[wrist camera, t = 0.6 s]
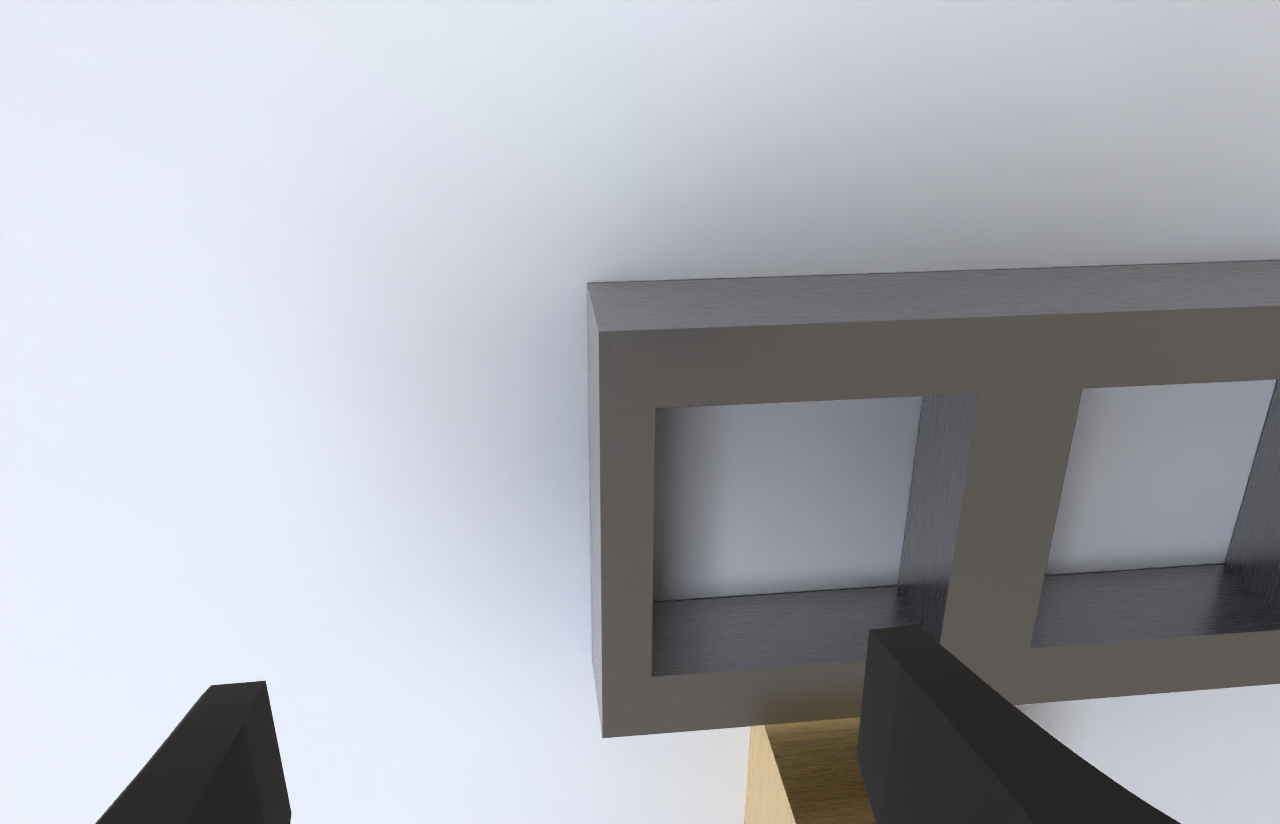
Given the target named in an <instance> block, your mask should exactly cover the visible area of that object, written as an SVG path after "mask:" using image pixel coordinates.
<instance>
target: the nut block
mask: <svg viewBox="0 0 1280 824" xmlns="http://www.w3.org/2000/svg"><path fill="white" fill-rule="evenodd" d="M859 726H860V717H858V718H846V719H833V720H821V721H809V722H796V723H784V724H771V725H759V726H751V733H750V748H749V764H748V779H747V794H746V809H745V824H876V821H875V818H874V815H873V812H872V809H871V806H870V803H869V800H868V796H867V793H866V789H865V786H864V783H863V779H862V776H861V772H860V769H859V765H858V762H857V759H856V756H857V746H858V736H859Z"/></svg>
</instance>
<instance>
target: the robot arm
mask: <svg viewBox="0 0 1280 824" xmlns="http://www.w3.org/2000/svg"><path fill="white" fill-rule="evenodd" d="M856 759H857V762H858V765H859V769H860V772H861V776H862V779H863V783H864V786H865V789H866V793H867V796H868V800H869V803H870V806H871V809H872V812H873V815H874V818H875V821H876V824H1180V823H1179V822H1177V821H1176V820H1174V819H1172V818H1171V817H1169V816H1167V815H1166V814H1164V813H1163V812H1161V811H1159V810H1158V809H1156V808H1154V807H1153V806H1151V805H1150V804H1148V803H1146V802H1145V801H1143V800H1142V799H1140V798H1139V797H1137V796H1136V795H1134V794H1133V793H1131V792H1130V791H1128V790H1127V789H1125V788H1124V787H1122V786H1121V785H1119V784H1118V783H1116V782H1115V781H1113V780H1112V779H1111V778H1109V777H1108V776H1106V775H1105V774H1104V773H1102V772H1101V771H1099V770H1098V769H1097V768H1095V767H1094V766H1092V765H1091V764H1089V763H1088V762H1087V761H1085V760H1084V759H1082V758H1081V757H1080V756H1078V755H1077V754H1075V753H1074V752H1073V751H1071V750H1070V749H1069V748H1067V747H1066V746H1065V745H1063V744H1062V743H1061V742H1059V741H1058V740H1057V739H1055V738H1054V737H1053V736H1051V735H1050V734H1049V733H1048V732H1046V731H1045V730H1044V729H1042V728H1041V727H1040V726H1039V725H1037V724H1036V723H1035V722H1033V721H1032V720H1031V719H1030V718H1028V717H1027V716H1026V715H1025V714H1023V713H1022V712H1021V711H1020V710H1018V709H1017V708H1016V707H1015V706H1013V705H1012V704H1011V703H1010V702H1009V701H1007V700H1006V699H1005V698H1004V697H1002V696H1001V695H1000V694H999V693H998V692H996V691H995V690H994V689H993V688H992V687H990V686H989V685H988V684H987V683H986V682H984V681H983V680H982V679H981V678H980V677H978V676H977V675H976V674H975V673H974V672H972V671H971V670H970V669H969V668H968V667H966V666H965V665H964V664H963V663H962V662H961V661H959V660H958V659H957V658H956V657H955V656H954V655H952V654H951V653H950V652H949V651H948V650H946V649H945V648H944V647H943V646H942V645H941V644H939V643H938V642H937V641H936V640H935V639H933V638H932V637H931V636H930V635H929V634H927V633H926V632H925V631H924V630H922V629H921V628H920V627H919V626H906V627H894V628H882V629H871V630H869V637H868V647H867V657H866V667H865V677H864V687H863V696H862V706H861V716H860V726H859V736H858V746H857V756H856ZM290 820H291V809H290V804H289V799H288V793H287V788H286V783H285V778H284V773H283V768H282V763H281V758H280V752H279V747H278V742H277V737H276V732H275V727H274V722H273V717H272V712H271V706H270V701H269V696H268V691H267V686H266V681H258V682H246V683H234V684H222V685H211V686H210V687H209V688H208V689H207V690H206V692H205V693H204V694H203V695H202V696H201V697H200V698H199V700H198V701H197V702H196V703H195V704H194V706H193V707H192V708H191V709H190V711H189V712H188V713H187V714H186V716H185V717H184V718H183V719H182V721H181V722H180V723H179V724H178V726H177V727H176V728H175V729H174V731H173V732H172V733H171V734H170V736H169V737H168V738H167V739H166V740H165V742H164V743H163V744H162V745H161V747H160V748H159V749H158V750H157V752H156V753H155V754H154V755H153V756H152V758H151V759H150V760H149V761H148V762H147V764H146V765H145V766H144V767H143V769H142V770H141V771H140V772H139V773H138V775H137V776H136V777H135V778H134V779H133V780H132V782H131V783H130V784H129V785H128V786H127V787H126V789H125V790H124V791H123V792H122V793H121V794H120V796H119V797H118V798H117V799H116V800H115V801H114V803H113V804H112V805H111V806H110V807H109V808H108V809H107V811H106V812H105V813H104V814H103V815H102V816H101V818H100V819H99V820H98V821H97V822H96V823H95V824H290Z"/></svg>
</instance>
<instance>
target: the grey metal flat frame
mask: <svg viewBox="0 0 1280 824" xmlns="http://www.w3.org/2000/svg"><path fill="white" fill-rule="evenodd" d="M587 316H588V387H589V457H590V528H591V599H592V662H593V669H594V677H595V685H596V692H597V700H598V708H599V715H600V723H601V731H602V738H610V737H622V736H635V735H647V734H660V733H672V732H684V731H697V730H709V729H722V728H734V727H746V726H759V725H771V724H784V723H796V722H809V721H821V720H833V719H846V718H858V717H860V716H861V706H862V696H863V687H864V677H865V667H866V657H867V647H868V637H869V630H871V629H882V628H894V627H906V626H919V627H920V628H921V629H922V630H924V631H925V632H926V633H927V634H929V635H930V636H931V637H932V638H933V639H935V640H936V641H937V642H938V643H939V644H941V645H942V646H943V647H944V648H945V649H946V650H948V651H949V652H950V653H951V654H952V655H954V656H955V657H956V658H957V659H958V660H959V661H961V662H962V663H963V664H964V665H965V666H966V667H968V668H969V669H970V670H971V671H972V672H974V673H975V674H976V675H977V676H978V677H980V678H981V679H982V680H983V681H984V682H986V683H987V684H988V685H989V686H990V687H992V688H993V689H994V690H995V691H996V692H998V693H999V694H1000V695H1001V696H1002V697H1004V698H1005V699H1006V700H1007V701H1009V702H1010V703H1011V704H1012V705H1020V704H1032V703H1044V702H1057V701H1069V700H1082V699H1094V698H1106V697H1119V696H1131V695H1144V694H1156V693H1169V692H1181V691H1193V690H1206V689H1218V688H1231V687H1243V686H1255V685H1268V684H1280V260H1274V261H1244V262H1214V263H1184V264H1154V265H1124V266H1094V267H1064V268H1034V269H1004V270H974V271H944V272H914V273H884V274H854V275H824V276H794V277H763V278H733V279H703V280H673V281H643V282H613V283H587ZM1273 379H1278V381H1277V385H1276V388H1275V392H1274V395H1273V399H1272V402H1271V406H1270V409H1269V413H1268V416H1267V420H1266V423H1265V426H1264V430H1263V433H1262V437H1261V440H1260V444H1259V447H1258V451H1257V454H1256V458H1255V461H1254V465H1253V468H1252V472H1251V475H1250V479H1249V482H1248V486H1247V489H1246V493H1245V496H1244V500H1243V503H1242V507H1241V510H1240V514H1239V517H1238V521H1237V524H1236V528H1235V531H1234V535H1233V538H1232V542H1231V545H1230V548H1229V552H1228V555H1227V559H1226V562H1225V564H1221V565H1206V566H1191V567H1176V568H1161V569H1146V570H1131V571H1116V572H1101V573H1086V574H1071V575H1056V576H1044V575H1045V570H1046V565H1047V561H1048V556H1049V551H1050V546H1051V541H1052V536H1053V531H1054V526H1055V521H1056V516H1057V511H1058V506H1059V501H1060V496H1061V491H1062V486H1063V481H1064V476H1065V472H1066V467H1067V462H1068V457H1069V452H1070V447H1071V442H1072V437H1073V432H1074V427H1075V422H1076V417H1077V412H1078V407H1079V402H1080V397H1081V392H1082V388H1101V387H1123V386H1144V385H1166V384H1187V383H1209V382H1230V381H1251V380H1273ZM908 396H923V401H922V409H921V416H920V424H919V431H918V439H917V446H916V454H915V461H914V469H913V476H912V484H911V491H910V499H909V506H908V514H907V522H906V529H905V537H904V544H903V552H902V559H901V567H900V574H899V582H898V586H891V587H876V588H861V589H846V590H831V591H816V592H801V593H787V594H772V595H757V596H742V597H727V598H712V599H697V600H682V601H667V602H653V542H654V476H655V411H656V408H672V407H693V406H715V405H736V404H758V403H779V402H801V401H822V400H843V399H865V398H886V397H908Z"/></svg>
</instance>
